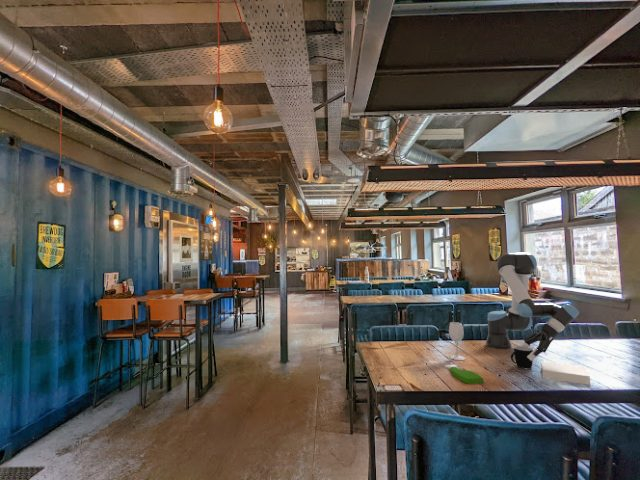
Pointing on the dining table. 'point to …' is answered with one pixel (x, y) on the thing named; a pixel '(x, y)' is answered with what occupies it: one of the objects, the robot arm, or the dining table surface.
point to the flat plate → (565, 372)
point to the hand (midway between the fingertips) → (523, 355)
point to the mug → (522, 356)
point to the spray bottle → (465, 375)
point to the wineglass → (456, 337)
